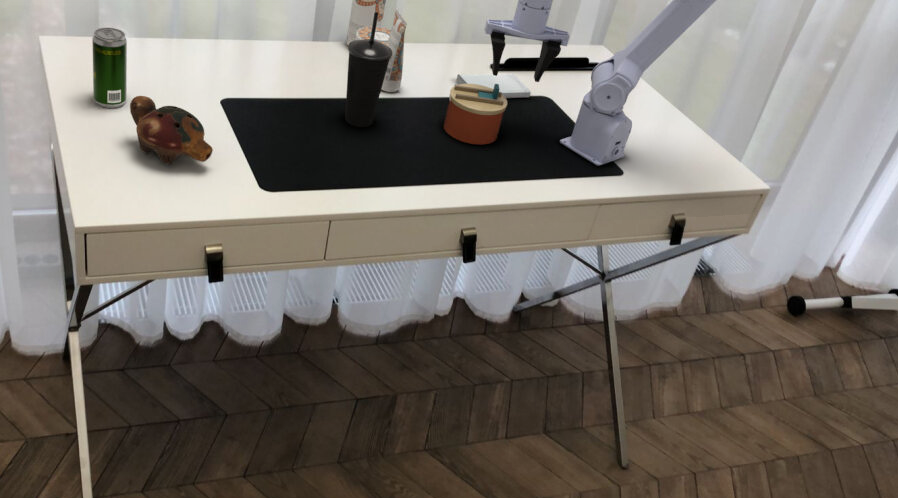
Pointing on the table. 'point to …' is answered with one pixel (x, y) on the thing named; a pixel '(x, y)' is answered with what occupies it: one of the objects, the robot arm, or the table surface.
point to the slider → (489, 95)
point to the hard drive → (507, 83)
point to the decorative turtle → (168, 131)
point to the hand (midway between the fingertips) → (515, 76)
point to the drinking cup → (365, 78)
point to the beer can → (109, 67)
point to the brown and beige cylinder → (474, 114)
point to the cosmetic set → (380, 36)
